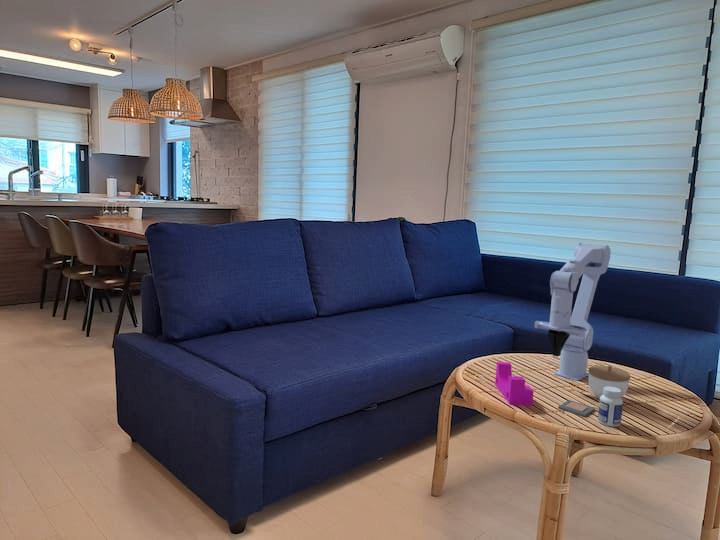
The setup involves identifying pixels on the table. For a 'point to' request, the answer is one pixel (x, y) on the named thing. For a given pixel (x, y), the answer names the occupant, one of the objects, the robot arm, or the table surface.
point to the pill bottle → (610, 407)
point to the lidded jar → (607, 379)
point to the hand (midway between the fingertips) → (556, 355)
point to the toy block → (512, 386)
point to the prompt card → (576, 408)
